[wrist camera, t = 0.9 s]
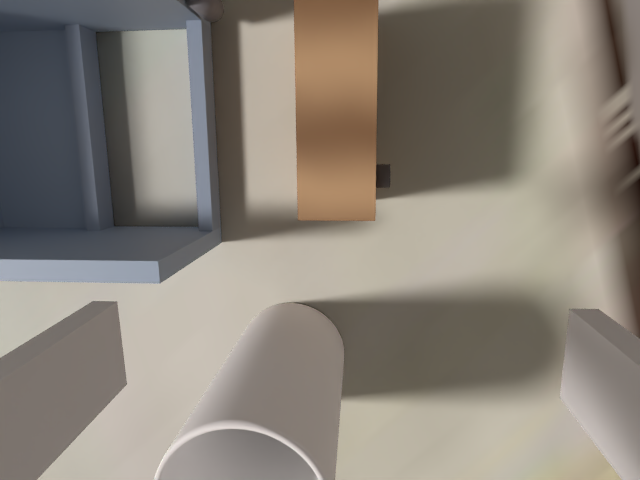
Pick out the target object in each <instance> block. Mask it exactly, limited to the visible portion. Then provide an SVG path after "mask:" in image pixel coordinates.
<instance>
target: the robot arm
mask: <svg viewBox="0 0 640 480" xmlns="http://www.w3.org/2000/svg"><path fill="white" fill-rule="evenodd" d="M126 385H127V381H126V372H125V364H124V356H123V347H122V339H121V330H120V322H119V313H118V305H117V302H110V301H93V302H91V303H89V304H88V305H86V306H84V307H83V308H81V309H80V310H78V311H76V312H75V313H73V314H71V315H70V316H68V317H66V318H65V319H63V320H62V321H60V322H58V323H57V324H55V325H53V326H52V327H50V328H49V329H47V330H45V331H44V332H42V333H40V334H39V335H37V336H36V337H34V338H32V339H31V340H29V341H27V342H26V343H24V344H23V345H21V346H19V347H18V348H16V349H14V350H13V351H11V352H9V353H8V354H6V355H5V356H3V357H1V358H0V480H37V479H38V478H39V477H40V476H41V475H42V474H43V472H44V471H45V470H46V469H47V468H48V467H49V466H50V465H51V464H52V463H53V462H54V461H55V460H56V459H57V458H58V457H59V456H60V454H61V453H62V452H63V451H64V450H65V449H66V448H67V447H68V446H69V445H70V444H71V443H72V442H73V441H74V440H75V439H76V438H77V436H78V435H79V434H80V433H81V432H82V431H83V430H84V429H85V428H86V427H87V426H88V425H89V424H90V423H91V422H92V421H93V420H94V419H95V417H96V416H97V415H98V414H99V413H100V412H101V411H102V410H103V409H104V408H105V407H106V406H107V405H108V404H109V403H110V402H111V401H112V399H113V398H114V397H115V396H116V395H117V394H118V393H119V392H120V391H121V390H122V389H123V388H124V387H125V386H126ZM560 399H561V400H562V402H563V403H564V404H565V406H566V407H567V408H568V410H569V411H570V412H571V413H572V415H573V416H574V417H575V419H576V420H577V421H578V423H579V424H580V425H581V427H582V428H583V429H584V431H585V432H586V433H587V434H588V436H589V437H590V438H591V440H592V441H593V442H594V444H595V445H596V446H597V448H598V449H599V450H600V451H601V453H602V454H603V455H604V457H605V458H606V459H607V461H608V462H609V463H610V465H611V466H612V467H613V469H614V470H615V471H616V472H617V474H618V475H619V476H620V478H621V479H622V480H640V339H639V338H638V337H636V336H635V335H633V334H632V333H631V332H629V331H628V330H627V329H625V328H624V327H622V326H621V325H620V324H618V323H617V322H615V321H614V320H613V319H611V318H610V317H609V316H607V315H606V314H604V313H603V312H602V311H600V310H599V309H569V319H568V328H567V337H566V346H565V355H564V365H563V374H562V383H561V392H560Z"/></svg>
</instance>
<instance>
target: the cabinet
mask: <svg viewBox="0 0 640 480" xmlns="http://www.w3.org/2000/svg"><path fill="white" fill-rule="evenodd" d="M223 12H224V6H223V3H222V1H221V0H0V281H37V282H99V283H161V282H163V281H164V280H166V279H167V278H169V277H170V276H172V275H173V274H175V273H176V272H178V271H179V270H181V269H182V268H184V267H185V266H187V265H188V264H190V263H191V262H193V261H195V260H196V259H198V258H199V257H201V256H202V255H204V254H205V253H207V252H208V251H210V250H211V249H213V248H214V247H216V246H217V245H219V244H220V243H222V237H221V217H220V198H219V178H218V158H217V139H216V119H215V99H214V80H213V60H212V41H211V22H216V21H218V20H219V19H220V18H221V17H222V15H223ZM168 29H187V41H188V58H189V75H190V91H191V108H192V124H193V141H194V158H195V174H196V191H197V207H198V224H199V227H162V226H114V219H113V208H112V198H111V187H110V177H109V166H108V156H107V146H106V135H105V125H104V114H103V104H102V93H101V83H100V73H99V62H98V52H97V41H96V32H108V31H138V30H168Z"/></svg>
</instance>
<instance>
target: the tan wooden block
mask: <svg viewBox="0 0 640 480" xmlns="http://www.w3.org/2000/svg"><path fill="white" fill-rule="evenodd" d="M294 33H295V87H296V141H297V195H298V220H322V221H375V206H376V188H389V187H390V164H377V165H376V134H377V62H378V0H294Z"/></svg>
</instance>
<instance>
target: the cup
mask: <svg viewBox="0 0 640 480" xmlns="http://www.w3.org/2000/svg"><path fill="white" fill-rule="evenodd" d="M343 368H344V345H343V341H342V338H341V336H340V334H339V331H338V330H337V328H336V327H335V325H334V324H333V323H332V322H331V320H330V319H329V318H327V317H326V316H325V315H324V314H323V313H321V312H319V311H318V310H316V309H314V308H312V307H309V306H306V305H303V304H298V303H283V304H277V305H274V306H271V307H269V308H266V309H265V310H263V311H261V312H260V313H258V314H257V315H256V316H255V317H254V318H253V319H252V320H251V321H250V323H249V324H248V326H247V327H246V329H245V330H244V332H243V333H242V335H241V336H240V338H239V340H238V341H237V343H236V344H235V346H234V347H233V349H232V350H231V352H230V354H229V355H228V357H227V358H226V360H225V361H224V363H223V364H222V366H221V368H220V369H219V371H218V372H217V374H216V375H215V377H214V378H213V380H212V381H211V383H210V385H209V386H208V388H207V389H206V391H205V392H204V394H203V395H202V397H201V399H200V400H199V402H198V403H197V405H196V406H195V408H194V409H193V411H192V413H191V414H190V416H189V417H188V419H187V420H186V422H185V424H184V425H183V427H182V428H181V430H180V431H179V433H178V434H177V436H176V438H175V439H174V441H173V442H172V444H171V445H170V447H169V449H168V450H167V452H166V453H165V455H164V457H163V458H162V460H161V463H160V465H159V467H158V469H157V472H156V474H155V477H154V480H335V473H336V460H337V447H338V434H339V421H340V407H341V394H342V381H343Z"/></svg>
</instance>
